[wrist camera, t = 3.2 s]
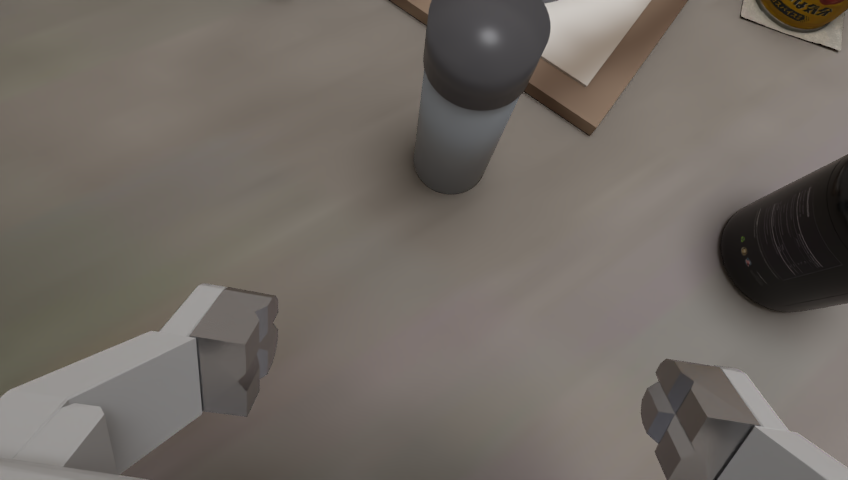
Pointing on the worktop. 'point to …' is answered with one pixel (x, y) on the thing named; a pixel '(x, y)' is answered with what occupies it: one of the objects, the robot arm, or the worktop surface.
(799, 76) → the worktop surface
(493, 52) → the grey cylinder
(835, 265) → the supplement bottle
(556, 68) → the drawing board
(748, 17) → the condiment
